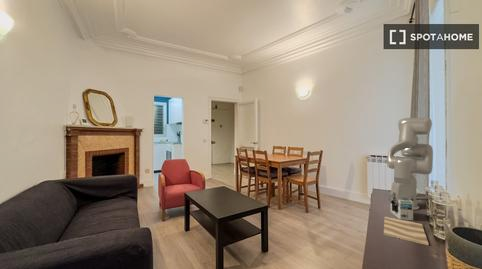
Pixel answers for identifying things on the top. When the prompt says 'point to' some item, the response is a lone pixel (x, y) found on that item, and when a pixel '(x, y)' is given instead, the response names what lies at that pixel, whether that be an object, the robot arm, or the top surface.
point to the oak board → (405, 230)
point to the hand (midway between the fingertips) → (401, 210)
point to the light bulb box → (404, 209)
